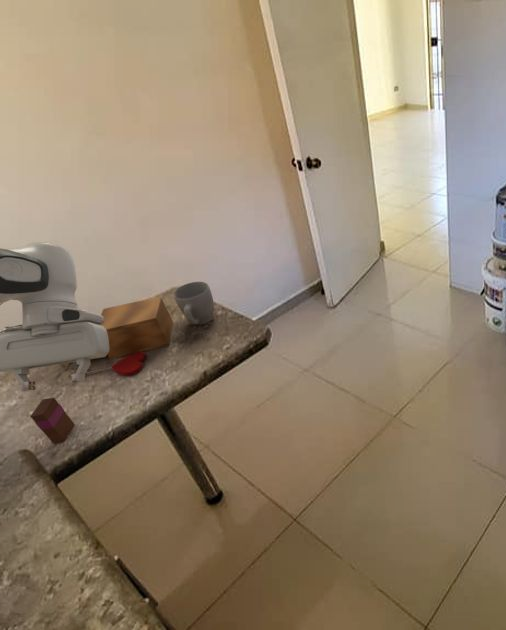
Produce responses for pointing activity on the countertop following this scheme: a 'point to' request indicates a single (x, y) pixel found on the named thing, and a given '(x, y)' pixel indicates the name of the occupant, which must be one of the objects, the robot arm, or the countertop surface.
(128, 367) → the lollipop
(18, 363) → the robot arm
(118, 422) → the countertop surface
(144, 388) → the countertop surface
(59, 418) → the chocolate
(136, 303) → the cabinet
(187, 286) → the mug
